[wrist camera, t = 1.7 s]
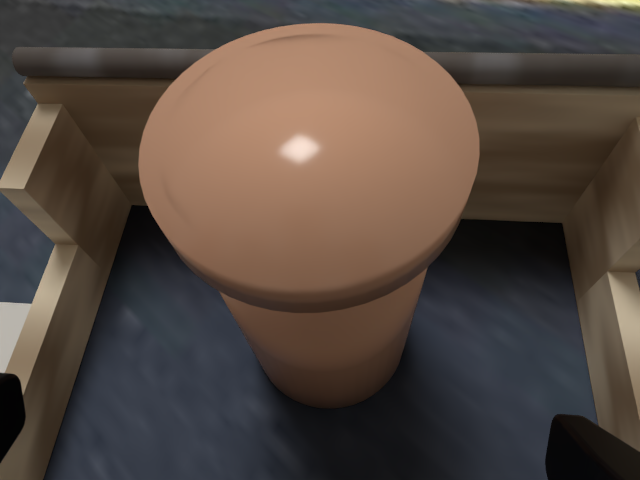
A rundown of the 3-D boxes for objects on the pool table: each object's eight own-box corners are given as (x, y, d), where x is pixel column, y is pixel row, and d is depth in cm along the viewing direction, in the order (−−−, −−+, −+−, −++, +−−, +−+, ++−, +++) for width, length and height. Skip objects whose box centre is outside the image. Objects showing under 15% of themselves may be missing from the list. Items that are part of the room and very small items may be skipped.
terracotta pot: (337, 460, 19) (320, 371, 8) (211, 339, 22) (71, 152, 11) (448, 323, 21) (546, 115, 11) (322, 230, 24) (298, -13, 13)
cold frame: (662, 604, 16) (946, 673, 9) (-1, 533, 18) (-262, 538, 11) (580, 202, 24) (689, 46, 16) (119, 185, 26) (20, 39, 18)
